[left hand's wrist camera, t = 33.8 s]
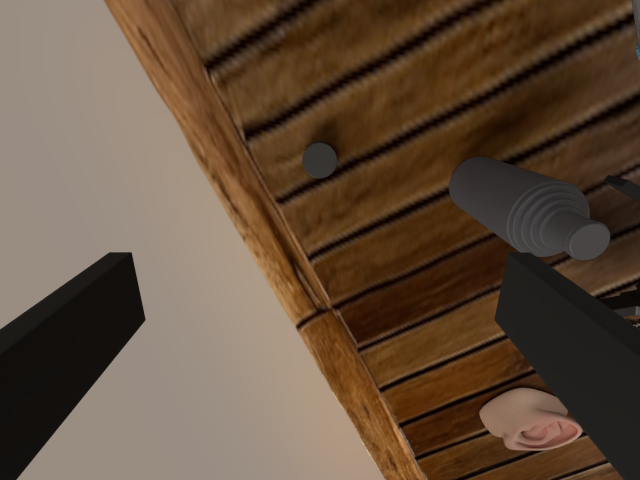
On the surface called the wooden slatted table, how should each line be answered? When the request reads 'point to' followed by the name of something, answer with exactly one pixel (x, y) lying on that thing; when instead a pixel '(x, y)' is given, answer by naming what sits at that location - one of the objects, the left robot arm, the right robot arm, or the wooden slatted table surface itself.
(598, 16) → the wooden slatted table surface
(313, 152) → the cap
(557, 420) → the anatomical model
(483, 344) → the wooden slatted table surface
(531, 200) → the bottle
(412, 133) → the wooden slatted table surface
